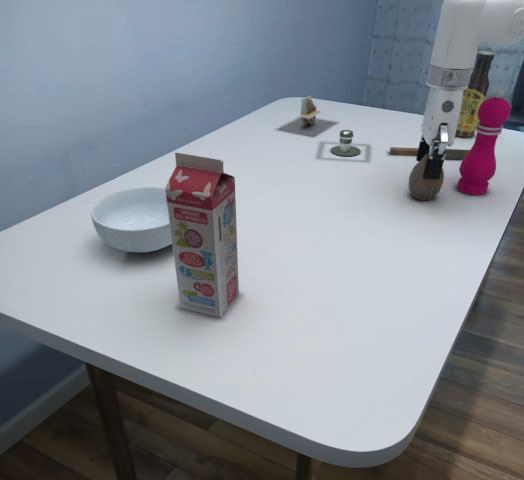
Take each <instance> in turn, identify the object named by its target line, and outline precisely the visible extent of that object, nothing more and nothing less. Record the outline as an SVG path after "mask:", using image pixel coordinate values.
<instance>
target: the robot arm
mask: <svg viewBox="0 0 524 480" xmlns="http://www.w3.org/2000/svg"><path fill="white" fill-rule="evenodd" d="M523 39H524V0H443V1H442V4H441V8H440V13H439V19H438V24H437V28H436V33H435V37H434V43H433V48H432V51H431V58H430V61H429V68H428V72H427V77H426V82H425V85H426V86H427V87H429V90H428V94H427V95H428V96H427V99H426V104H425V108H424V113H423V117H422V123H421V136H420V141H419V144H418V147H417V148H418V153H417V156H416V159H415V160H416V162H419V161H420V160H422V159H423V157H424V156H425V154H427V153H429V158H427V160H426V164H425V169H424V173H423V178H424V179H434V180H438V179H439V178H440V175H441V171H442V168H443V166H444V163H445V160H446V159H445V153H446V149H447V147H452V146H454V142H455V138H456V135H455V134H456V129H457V125H458V120H459V115H460V110H461V105H462V98H463V89H466V88H468V85H469V81H470V77H471V74H472V72H473V69H474V66H475V62H476V57H477V54H478V50H479V46H480V45H481V44H486V45H493V46H500V47H505V46H511V45H514V44H516V43H518V42H520V41H522V40H523ZM434 149H435V150H434Z"/></svg>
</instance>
